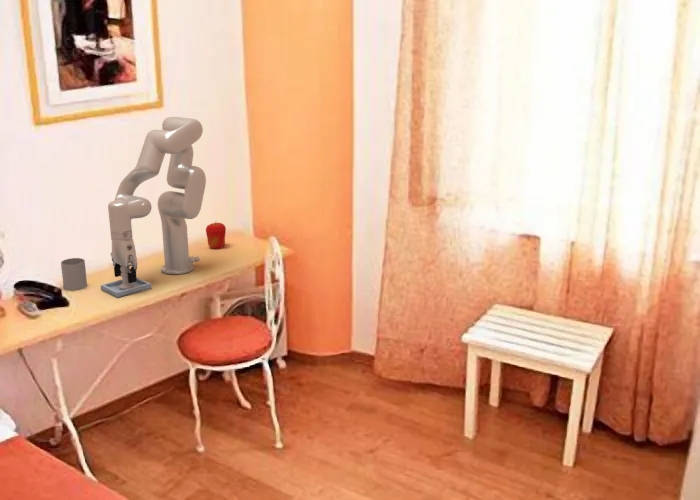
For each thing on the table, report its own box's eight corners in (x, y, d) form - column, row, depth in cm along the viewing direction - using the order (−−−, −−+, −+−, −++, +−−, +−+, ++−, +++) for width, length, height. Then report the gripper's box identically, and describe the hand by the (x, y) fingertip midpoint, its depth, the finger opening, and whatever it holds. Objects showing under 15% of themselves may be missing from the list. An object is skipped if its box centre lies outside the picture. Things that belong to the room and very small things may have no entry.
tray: (134, 281, 309) (134, 276, 308) (151, 288, 301) (151, 283, 300) (101, 290, 300) (100, 284, 299) (117, 298, 292) (117, 292, 291)
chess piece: (136, 286, 302) (134, 263, 299) (128, 290, 297) (126, 267, 294) (124, 284, 304) (122, 261, 301) (116, 289, 299) (113, 266, 296)
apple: (218, 243, 356) (217, 217, 353) (230, 247, 351) (229, 220, 348) (202, 247, 350) (201, 221, 347) (215, 251, 345) (213, 224, 341)
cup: (79, 291, 298) (77, 265, 296) (59, 290, 300) (56, 264, 297) (91, 283, 306) (88, 258, 303) (71, 282, 308) (68, 257, 305)
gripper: (143, 237, 291) (147, 282, 296) (118, 228, 303) (122, 271, 308) (124, 241, 286) (128, 287, 291) (100, 232, 297) (104, 276, 303)
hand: (125, 279), depth 299 cm, fingers open, 9 cm apart
